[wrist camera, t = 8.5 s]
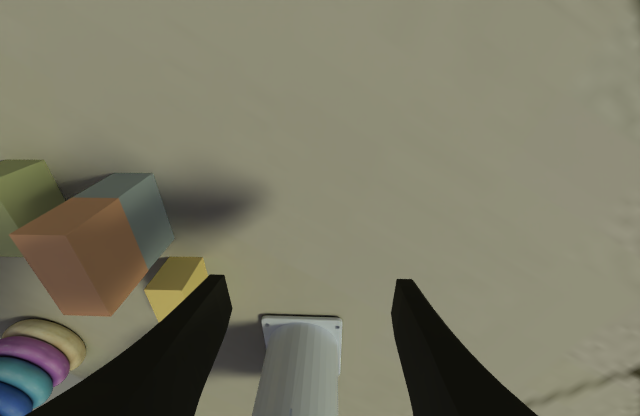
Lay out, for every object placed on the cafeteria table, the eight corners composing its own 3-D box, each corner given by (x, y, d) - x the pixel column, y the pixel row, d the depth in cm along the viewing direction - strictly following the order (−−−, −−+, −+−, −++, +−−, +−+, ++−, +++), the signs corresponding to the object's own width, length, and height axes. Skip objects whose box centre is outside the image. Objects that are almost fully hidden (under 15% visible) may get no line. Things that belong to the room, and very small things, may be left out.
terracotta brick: (148, 270, 21) (111, 316, 17) (109, 269, 21) (63, 314, 17) (118, 198, 18) (65, 235, 14) (72, 197, 18) (8, 234, 14)
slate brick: (174, 238, 24) (147, 271, 21) (140, 237, 24) (108, 270, 21) (152, 173, 21) (116, 198, 18) (114, 172, 21) (71, 197, 18)
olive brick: (80, 226, 24) (37, 257, 21) (46, 226, 24) (-2, 256, 21) (45, 159, 21) (-13, 182, 18) (7, 159, 21) (-58, 181, 18)
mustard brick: (216, 303, 28) (199, 340, 25) (187, 302, 28) (166, 339, 25) (203, 256, 25) (182, 290, 22) (170, 255, 25) (143, 289, 22)
